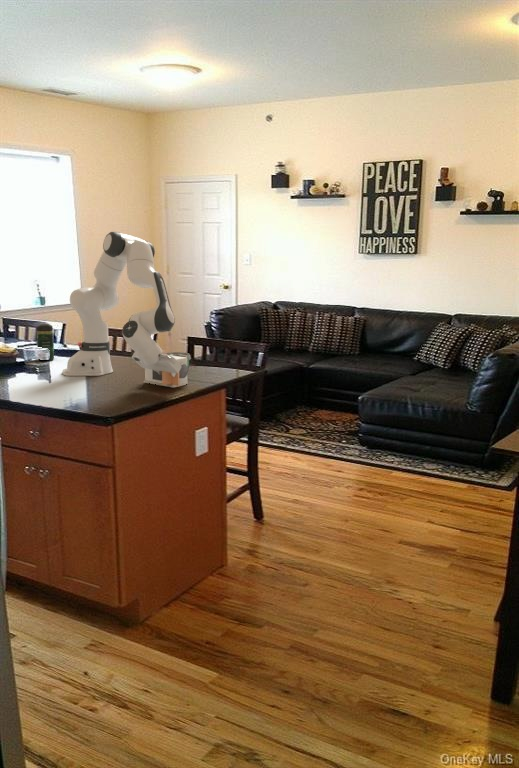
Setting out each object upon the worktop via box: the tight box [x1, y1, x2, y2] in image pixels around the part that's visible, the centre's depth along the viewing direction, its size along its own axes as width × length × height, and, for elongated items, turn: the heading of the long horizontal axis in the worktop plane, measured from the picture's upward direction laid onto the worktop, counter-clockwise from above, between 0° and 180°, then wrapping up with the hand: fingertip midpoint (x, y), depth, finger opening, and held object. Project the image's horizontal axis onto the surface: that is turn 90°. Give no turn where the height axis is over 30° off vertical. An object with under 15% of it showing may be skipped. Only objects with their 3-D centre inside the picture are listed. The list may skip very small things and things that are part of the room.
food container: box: [165, 351, 192, 377], centre depth 295 cm, size 12×6×10 cm, turn 65°
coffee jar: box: [36, 322, 55, 361], centre depth 327 cm, size 10×8×19 cm
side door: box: [162, 371, 180, 387], centre depth 265 cm, size 8×5×8 cm, turn 55°
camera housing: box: [143, 353, 189, 388], centre depth 274 cm, size 18×10×12 cm, turn 55°
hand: (167, 374), depth 265 cm, fingers open, 5 cm apart
